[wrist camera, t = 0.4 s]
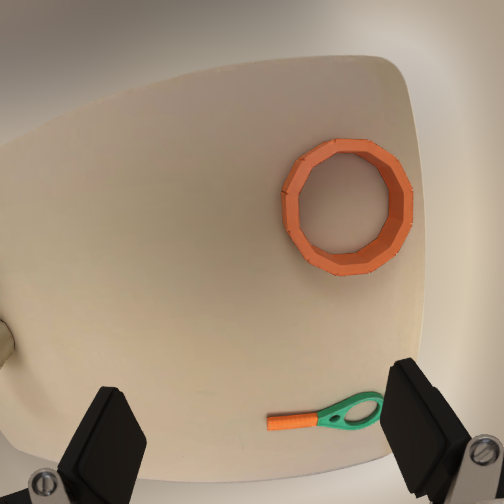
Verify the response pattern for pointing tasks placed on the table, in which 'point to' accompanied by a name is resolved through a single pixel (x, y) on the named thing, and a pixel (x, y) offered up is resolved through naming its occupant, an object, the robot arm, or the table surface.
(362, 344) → the table surface
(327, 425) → the magnifying glass
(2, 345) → the flower pot
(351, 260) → the ring
